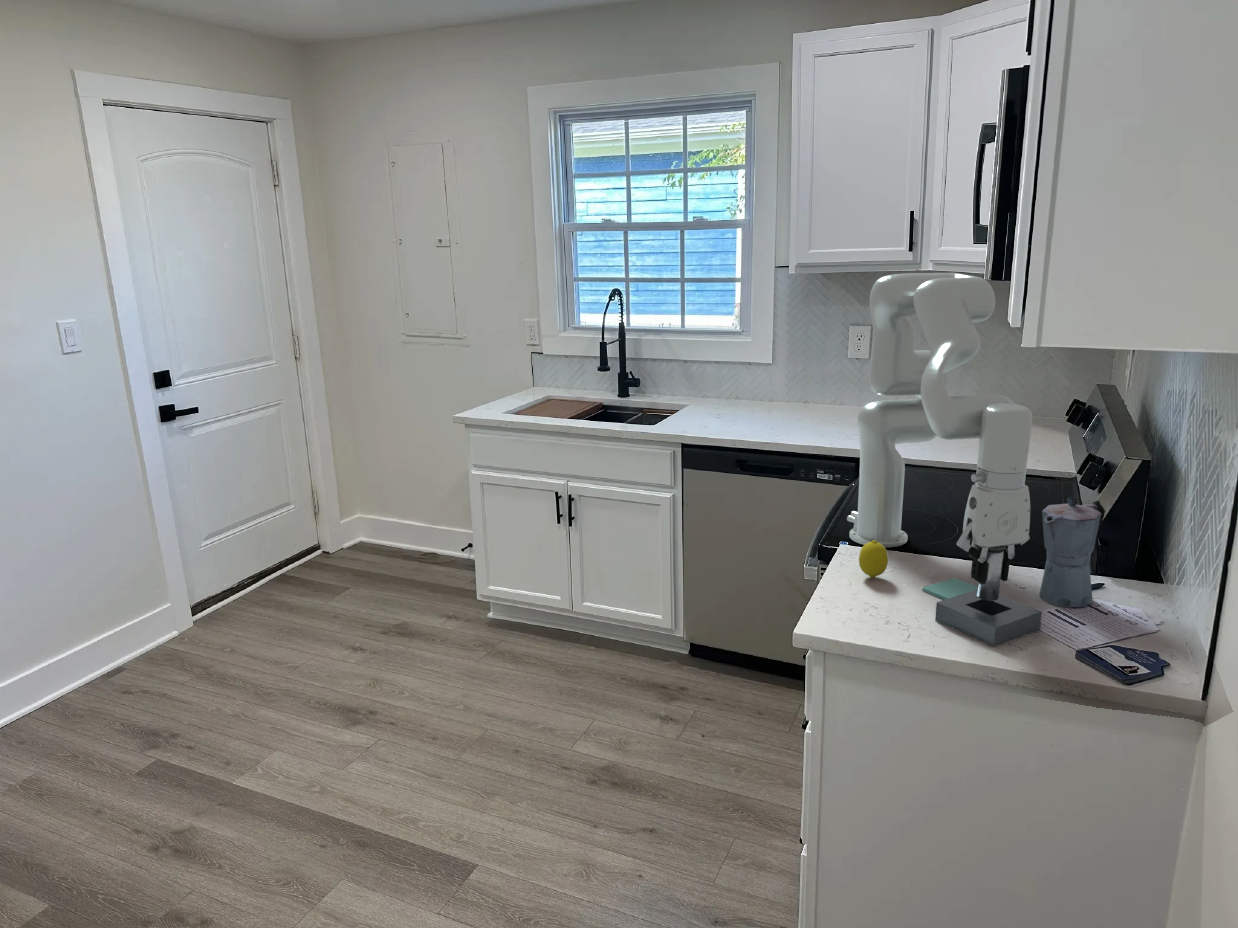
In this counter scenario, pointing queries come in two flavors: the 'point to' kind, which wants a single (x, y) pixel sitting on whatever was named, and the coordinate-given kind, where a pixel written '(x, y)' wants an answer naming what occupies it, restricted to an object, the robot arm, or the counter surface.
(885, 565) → the lemon
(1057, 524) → the moka pot
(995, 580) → the clear capped vial
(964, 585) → the pad
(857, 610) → the counter surface
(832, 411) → the counter surface
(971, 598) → the socket block
